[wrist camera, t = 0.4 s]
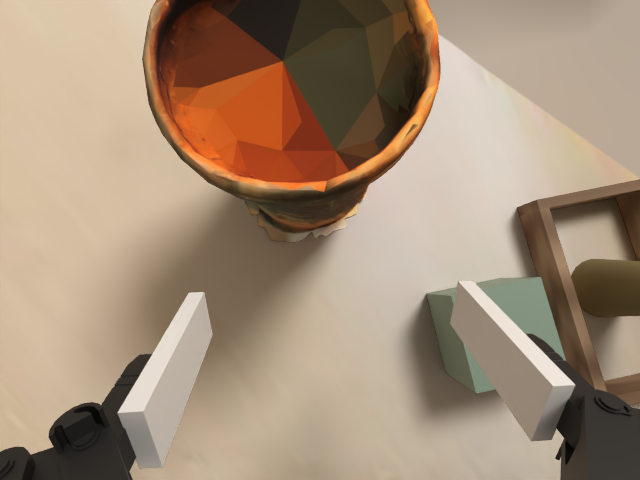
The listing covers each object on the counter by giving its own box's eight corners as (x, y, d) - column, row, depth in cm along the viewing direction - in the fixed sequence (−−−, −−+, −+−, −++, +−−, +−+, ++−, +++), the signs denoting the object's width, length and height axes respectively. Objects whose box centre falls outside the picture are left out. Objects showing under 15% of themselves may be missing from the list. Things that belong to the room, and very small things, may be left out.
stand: (521, 356, 31) (569, 372, 25) (445, 372, 31) (476, 393, 25) (499, 278, 32) (540, 276, 26) (426, 293, 32) (450, 295, 26)
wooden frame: (687, 373, 31) (725, 383, 28) (574, 399, 31) (601, 411, 28) (621, 186, 34) (650, 177, 31) (517, 207, 34) (536, 199, 31)
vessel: (379, 249, 33) (462, 193, 13) (244, 252, 33) (122, 201, 13) (373, 122, 35) (436, -93, 15) (246, 126, 35) (144, -83, 15)
